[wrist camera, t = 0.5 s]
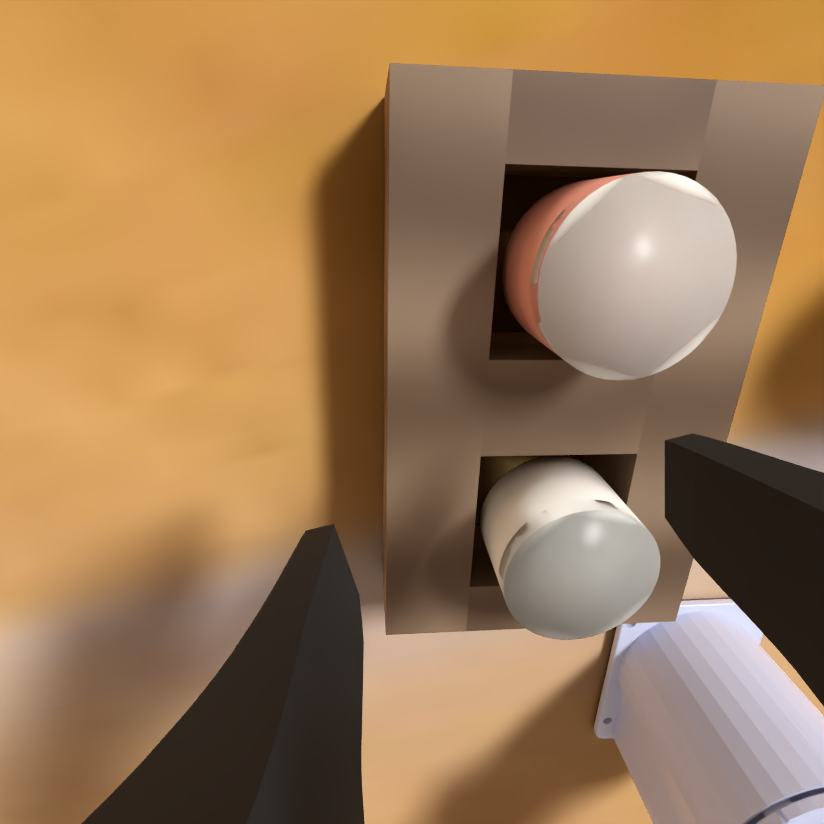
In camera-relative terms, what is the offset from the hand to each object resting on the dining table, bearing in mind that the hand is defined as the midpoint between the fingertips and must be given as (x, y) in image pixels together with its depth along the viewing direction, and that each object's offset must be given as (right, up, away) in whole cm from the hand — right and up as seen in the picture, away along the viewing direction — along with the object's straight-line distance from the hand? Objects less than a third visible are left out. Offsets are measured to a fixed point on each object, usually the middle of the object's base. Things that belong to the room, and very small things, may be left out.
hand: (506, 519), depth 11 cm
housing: (+3, +4, +10) cm, 11 cm away
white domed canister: (+3, -2, +8) cm, 9 cm away
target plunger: (+3, +7, +5) cm, 9 cm away
